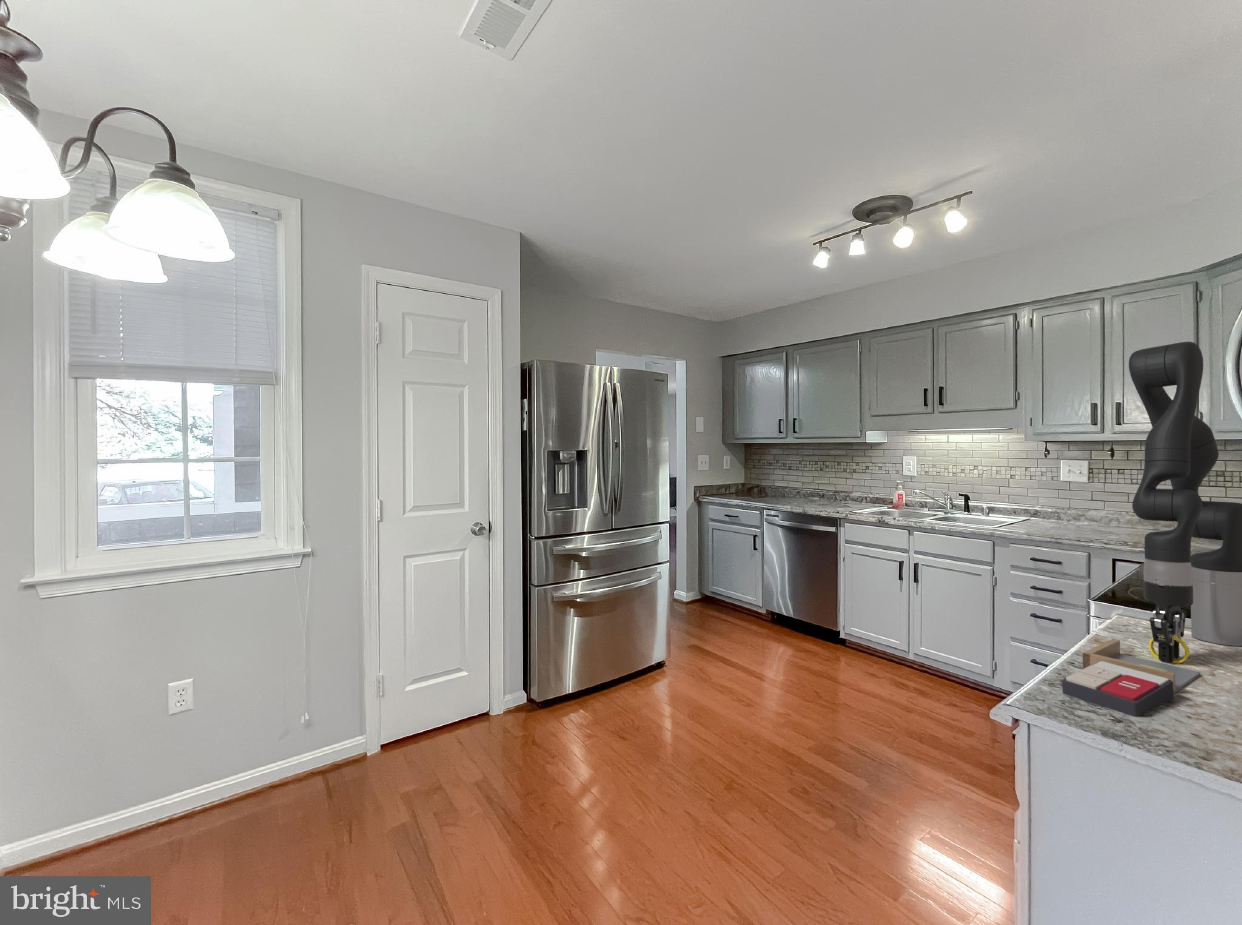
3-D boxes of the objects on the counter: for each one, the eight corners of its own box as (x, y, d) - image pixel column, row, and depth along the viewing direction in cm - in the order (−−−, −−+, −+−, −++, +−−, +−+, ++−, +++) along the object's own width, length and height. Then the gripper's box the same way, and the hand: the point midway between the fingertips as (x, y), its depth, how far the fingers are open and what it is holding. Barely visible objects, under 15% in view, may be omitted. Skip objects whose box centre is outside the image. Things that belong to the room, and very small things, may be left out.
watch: (1189, 665, 114) (1191, 638, 114) (1185, 668, 113) (1188, 640, 112) (1151, 654, 119) (1153, 628, 119) (1147, 657, 118) (1149, 631, 117)
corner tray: (1113, 654, 120) (1112, 638, 120) (1200, 675, 108) (1199, 657, 108) (1082, 670, 112) (1082, 652, 112) (1173, 693, 100) (1173, 674, 100)
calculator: (1060, 676, 101) (1099, 657, 108) (1061, 698, 102) (1100, 678, 108) (1136, 698, 92) (1173, 676, 98) (1137, 723, 92) (1174, 699, 98)
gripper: (1155, 573, 122) (1156, 648, 122) (1132, 581, 115) (1133, 661, 115) (1202, 579, 116) (1204, 658, 116) (1181, 588, 109) (1182, 672, 109)
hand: (1169, 659), depth 116 cm, fingers open, 3 cm apart
